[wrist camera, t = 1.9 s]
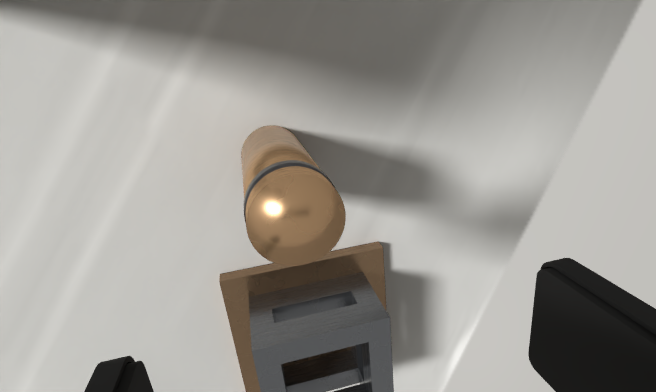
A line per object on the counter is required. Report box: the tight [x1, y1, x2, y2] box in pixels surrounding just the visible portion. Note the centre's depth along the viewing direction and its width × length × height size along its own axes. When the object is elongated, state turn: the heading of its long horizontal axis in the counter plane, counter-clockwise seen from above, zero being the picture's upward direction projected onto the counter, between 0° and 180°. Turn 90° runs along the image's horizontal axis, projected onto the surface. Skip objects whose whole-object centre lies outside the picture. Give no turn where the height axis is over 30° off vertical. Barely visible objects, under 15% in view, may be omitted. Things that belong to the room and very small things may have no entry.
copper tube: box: [241, 126, 345, 266], centre depth 20 cm, size 4×4×11 cm
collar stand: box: [220, 242, 394, 392], centre depth 28 cm, size 12×12×6 cm
